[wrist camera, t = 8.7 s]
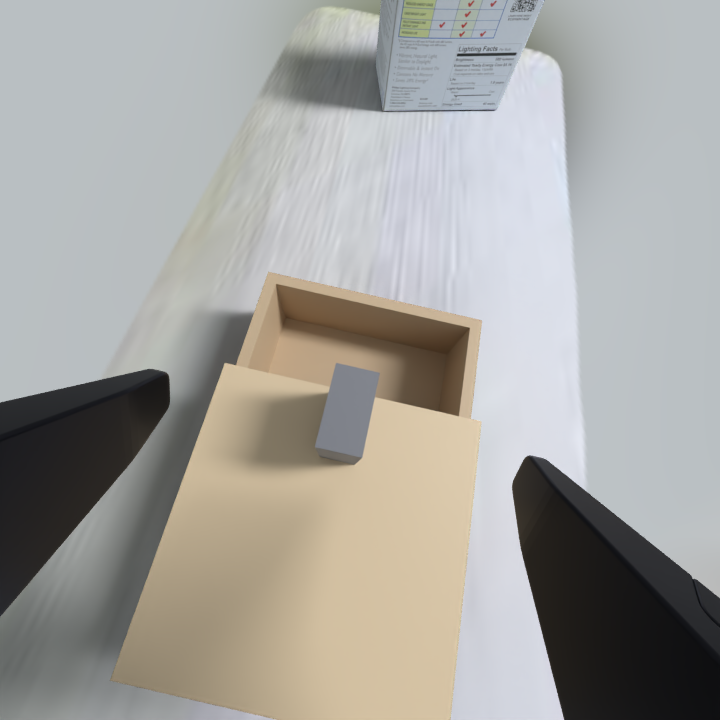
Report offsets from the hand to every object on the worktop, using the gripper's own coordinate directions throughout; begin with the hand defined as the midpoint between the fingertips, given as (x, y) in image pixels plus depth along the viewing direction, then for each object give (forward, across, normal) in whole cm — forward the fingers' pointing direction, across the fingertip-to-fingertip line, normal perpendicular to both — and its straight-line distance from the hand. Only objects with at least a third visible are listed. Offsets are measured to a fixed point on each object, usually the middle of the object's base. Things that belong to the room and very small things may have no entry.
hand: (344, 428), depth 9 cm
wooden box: (+12, 0, +8) cm, 14 cm away
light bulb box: (+33, -1, -14) cm, 36 cm away
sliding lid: (+4, 0, +8) cm, 9 cm away
